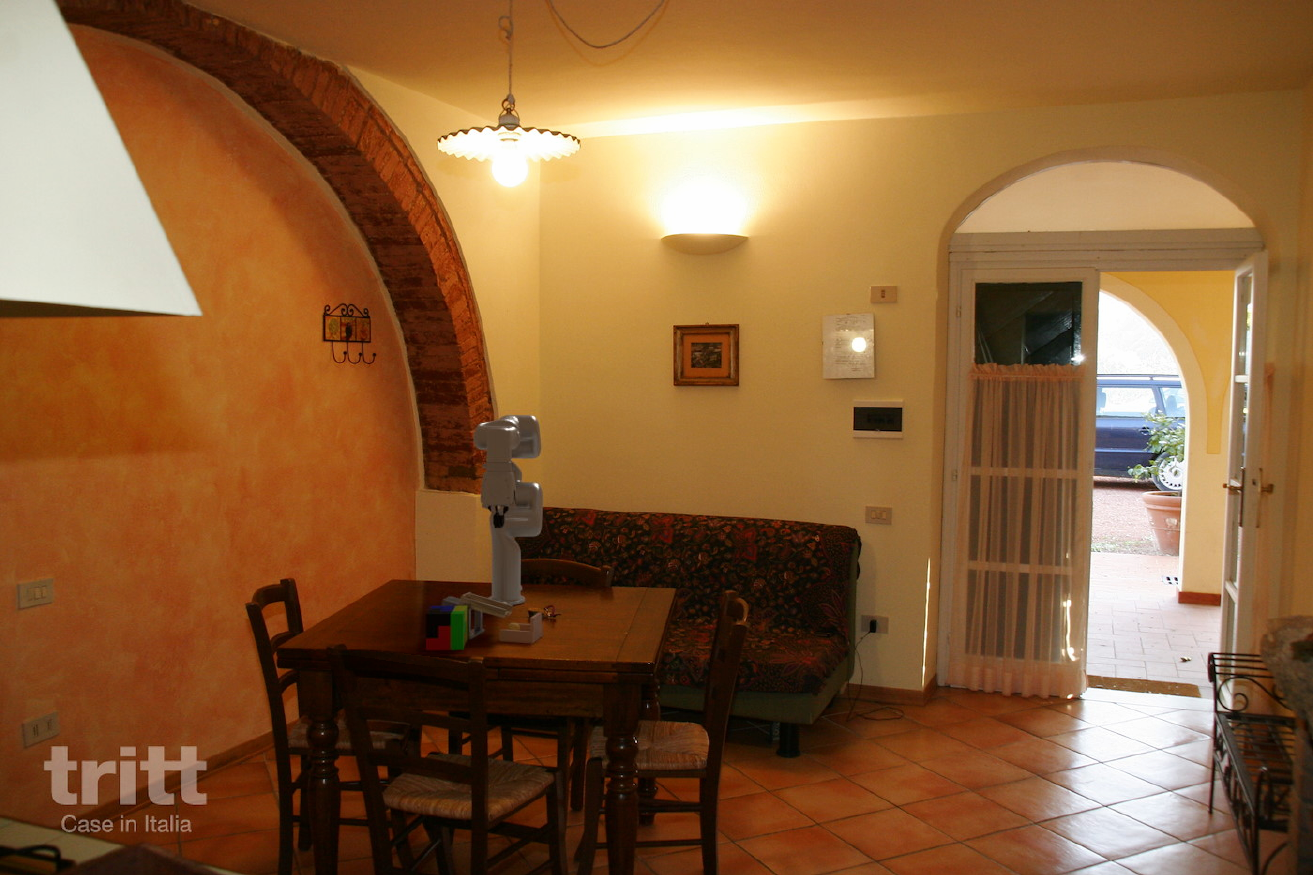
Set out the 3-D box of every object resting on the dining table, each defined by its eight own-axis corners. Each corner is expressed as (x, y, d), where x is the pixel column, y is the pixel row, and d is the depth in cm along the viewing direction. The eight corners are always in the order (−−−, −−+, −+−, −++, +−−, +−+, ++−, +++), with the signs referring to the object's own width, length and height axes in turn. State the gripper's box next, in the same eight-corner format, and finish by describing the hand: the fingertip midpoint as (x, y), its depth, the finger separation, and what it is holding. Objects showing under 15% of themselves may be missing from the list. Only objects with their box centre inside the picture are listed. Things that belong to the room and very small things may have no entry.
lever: (457, 604, 283) (461, 582, 283) (516, 621, 279) (521, 599, 279) (438, 613, 272) (443, 590, 271) (500, 631, 268) (505, 608, 267)
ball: (516, 618, 272) (524, 628, 271) (507, 626, 272) (515, 636, 272) (512, 621, 268) (519, 631, 268) (503, 629, 269) (510, 639, 268)
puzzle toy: (431, 640, 267) (431, 605, 266) (467, 640, 267) (467, 605, 267) (426, 650, 257) (426, 614, 256) (463, 649, 257) (463, 613, 257)
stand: (474, 630, 278) (474, 596, 278) (484, 631, 277) (484, 597, 277) (460, 638, 268) (460, 604, 268) (470, 639, 268) (470, 604, 267)
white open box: (511, 633, 275) (511, 609, 275) (542, 635, 273) (542, 612, 272) (499, 641, 267) (499, 616, 266) (532, 643, 264) (532, 618, 264)
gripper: (471, 468, 285) (471, 528, 286) (517, 469, 282) (517, 530, 283) (481, 466, 292) (481, 525, 293) (526, 467, 289) (526, 527, 290)
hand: (498, 527), depth 288 cm, fingers closed
